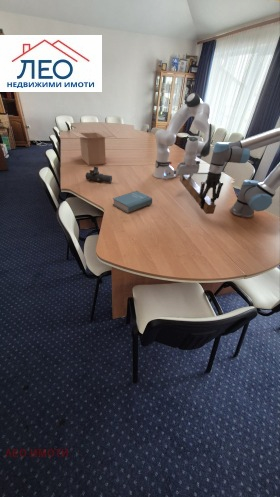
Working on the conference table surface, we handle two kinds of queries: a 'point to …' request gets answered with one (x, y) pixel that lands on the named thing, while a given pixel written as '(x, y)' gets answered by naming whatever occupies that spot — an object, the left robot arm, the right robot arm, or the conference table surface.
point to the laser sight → (98, 176)
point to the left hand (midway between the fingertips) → (185, 179)
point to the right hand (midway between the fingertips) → (205, 208)
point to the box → (92, 146)
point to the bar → (194, 191)
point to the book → (132, 201)
